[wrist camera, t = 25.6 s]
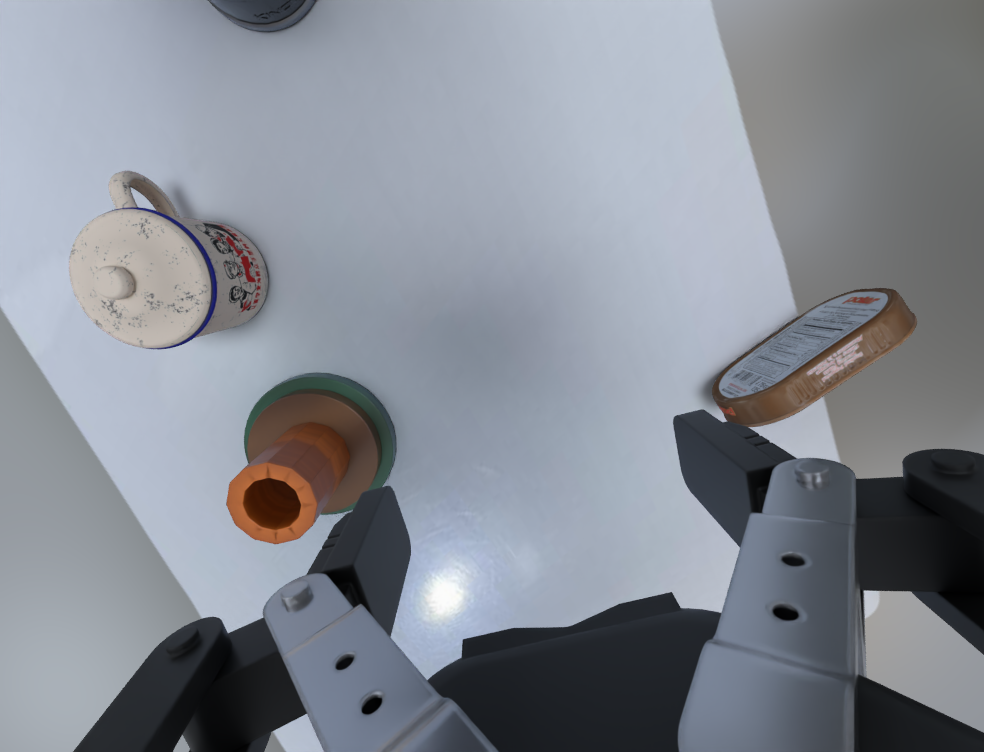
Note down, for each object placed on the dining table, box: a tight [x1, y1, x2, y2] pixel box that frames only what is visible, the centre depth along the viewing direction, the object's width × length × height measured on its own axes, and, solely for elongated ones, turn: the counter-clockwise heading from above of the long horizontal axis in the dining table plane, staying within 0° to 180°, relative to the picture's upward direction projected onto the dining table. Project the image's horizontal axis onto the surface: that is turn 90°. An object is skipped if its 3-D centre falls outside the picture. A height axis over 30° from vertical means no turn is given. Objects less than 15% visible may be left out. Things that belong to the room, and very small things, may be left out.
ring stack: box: [244, 373, 396, 515], centre depth 41 cm, size 13×13×3 cm
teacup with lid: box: [69, 171, 268, 349], centre depth 33 cm, size 12×9×12 cm
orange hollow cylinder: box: [226, 422, 350, 544], centre depth 36 cm, size 6×6×8 cm
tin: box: [712, 288, 917, 427], centre depth 37 cm, size 15×3×8 cm, turn 128°
